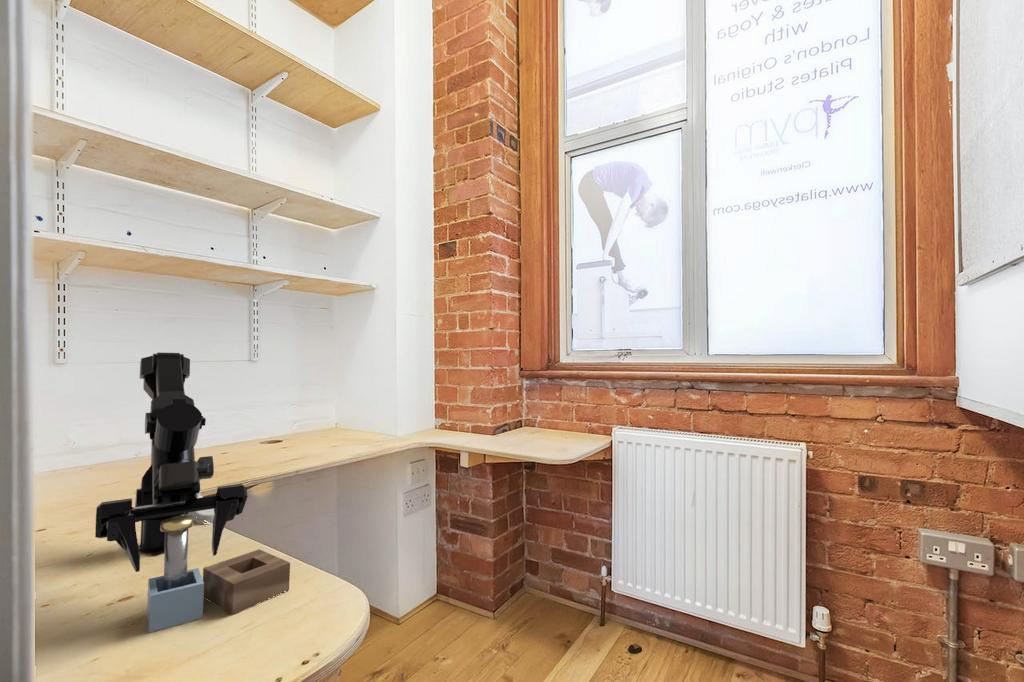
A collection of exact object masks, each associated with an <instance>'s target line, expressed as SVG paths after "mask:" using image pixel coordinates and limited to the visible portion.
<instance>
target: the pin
mask: <svg viewBox="0 0 1024 682" xmlns="http://www.w3.org/2000/svg"><path fill="white" fill-rule="evenodd" d="M193 519H194V518H193V517H192V516H187V515H181V516H177V517H171V518H168V519H165V520H163V521H161V523H160V531H162V532H165V552H164V557H163V558H164V559H163V560H164V561H163V576H164V586H163V591H164V590H169V589H173V588H177V587H181V586H185V585H187V570H188V559H189V558H188V556H189V555H188V553H189V552H188V551H189V529H190V528H193V527H194V520H193Z"/></svg>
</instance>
